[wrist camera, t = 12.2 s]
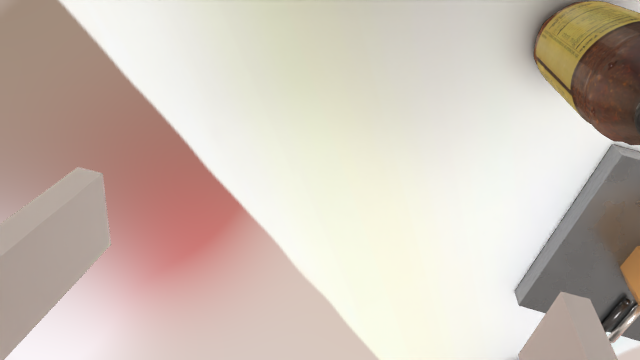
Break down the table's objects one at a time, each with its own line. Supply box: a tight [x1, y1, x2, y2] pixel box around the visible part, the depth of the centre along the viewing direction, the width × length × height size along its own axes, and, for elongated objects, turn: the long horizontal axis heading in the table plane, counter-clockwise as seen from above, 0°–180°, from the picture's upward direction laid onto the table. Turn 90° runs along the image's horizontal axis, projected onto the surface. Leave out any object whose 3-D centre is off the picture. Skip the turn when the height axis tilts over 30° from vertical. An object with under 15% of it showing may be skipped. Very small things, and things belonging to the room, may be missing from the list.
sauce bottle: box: [534, 1, 640, 145], centre depth 24 cm, size 6×6×20 cm
